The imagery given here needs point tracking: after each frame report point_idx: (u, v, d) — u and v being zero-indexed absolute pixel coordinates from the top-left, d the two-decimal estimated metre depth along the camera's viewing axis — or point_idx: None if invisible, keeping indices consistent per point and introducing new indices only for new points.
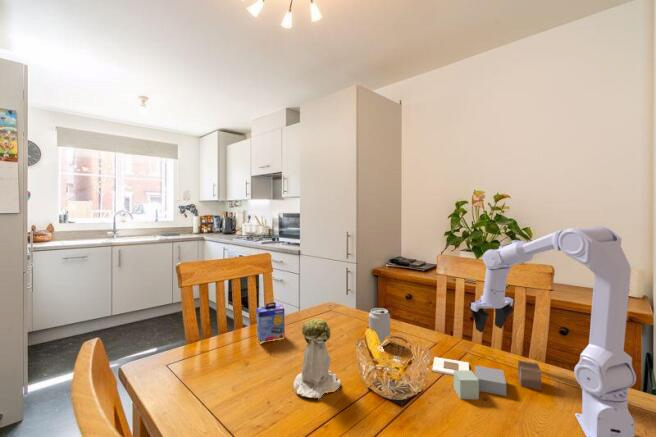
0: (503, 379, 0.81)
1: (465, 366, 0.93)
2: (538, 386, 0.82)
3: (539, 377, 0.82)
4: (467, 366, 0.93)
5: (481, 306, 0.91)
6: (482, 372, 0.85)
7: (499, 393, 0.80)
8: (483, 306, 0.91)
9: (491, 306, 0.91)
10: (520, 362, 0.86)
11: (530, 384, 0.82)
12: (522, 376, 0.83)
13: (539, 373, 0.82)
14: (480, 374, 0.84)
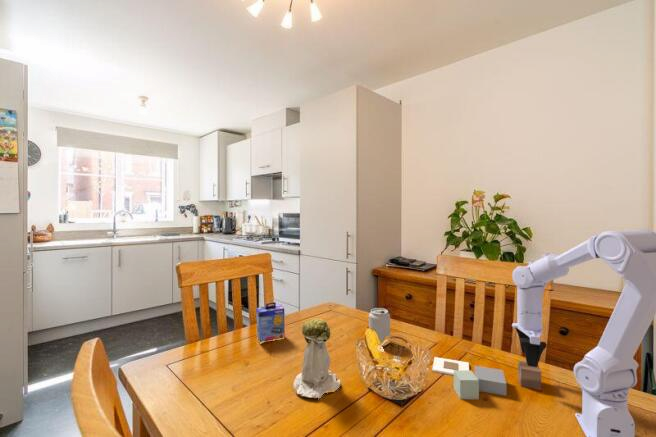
0: (503, 379, 0.81)
1: (465, 366, 0.93)
2: (538, 386, 0.82)
3: (539, 377, 0.82)
4: (467, 366, 0.93)
5: (539, 336, 0.78)
6: (482, 372, 0.85)
7: (500, 393, 0.80)
8: (540, 334, 0.79)
9: (541, 331, 0.81)
10: (520, 362, 0.86)
11: (530, 384, 0.83)
12: (522, 376, 0.83)
13: (539, 373, 0.82)
14: (481, 374, 0.84)
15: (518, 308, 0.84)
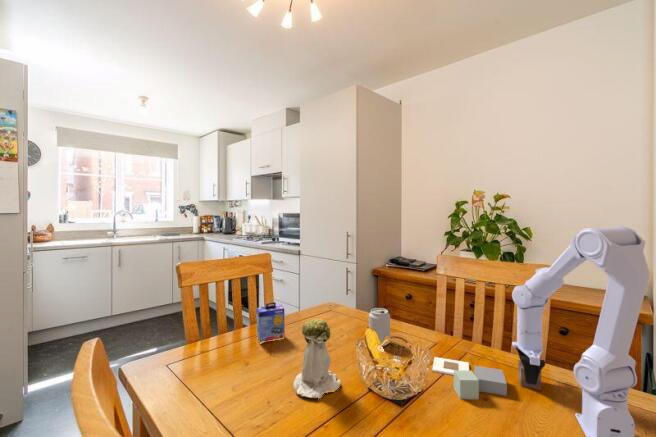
0: (503, 379, 0.81)
1: (465, 366, 0.93)
2: (538, 386, 0.82)
3: (539, 376, 0.82)
4: (467, 366, 0.93)
5: (539, 356, 0.79)
6: (482, 372, 0.85)
7: (500, 393, 0.80)
8: (540, 354, 0.79)
9: (541, 351, 0.81)
10: (520, 362, 0.86)
11: (530, 384, 0.83)
12: (522, 376, 0.83)
13: None
14: (481, 374, 0.84)
15: (518, 327, 0.84)
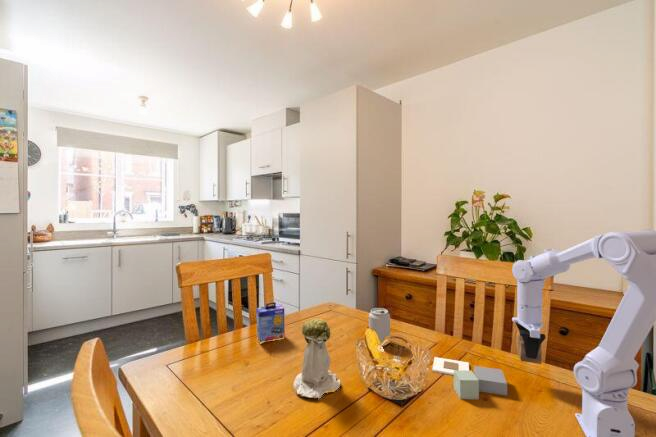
0: (503, 379, 0.81)
1: (465, 366, 0.93)
2: (538, 360, 0.81)
3: (539, 351, 0.81)
4: (467, 366, 0.93)
5: (539, 329, 0.78)
6: (482, 372, 0.85)
7: (500, 393, 0.80)
8: (540, 328, 0.79)
9: (541, 325, 0.80)
10: (520, 337, 0.86)
11: (530, 358, 0.82)
12: (522, 350, 0.83)
13: None
14: (481, 374, 0.84)
15: (518, 302, 0.84)
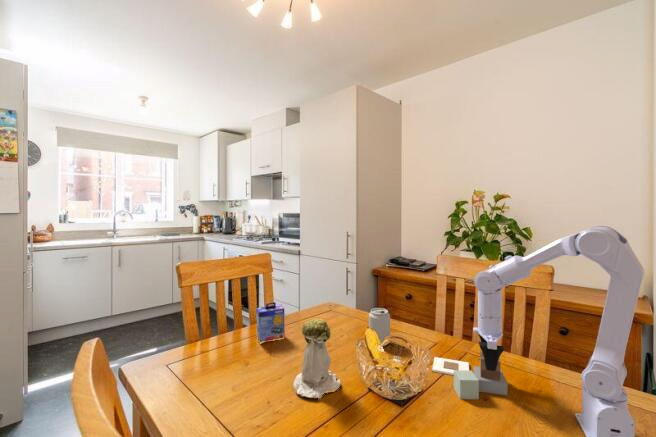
0: (503, 379, 0.81)
1: (465, 366, 0.93)
2: (497, 376, 0.81)
3: (498, 367, 0.81)
4: (467, 366, 0.93)
5: (497, 340, 0.78)
6: None
7: (501, 393, 0.80)
8: (497, 339, 0.78)
9: (500, 336, 0.80)
10: (481, 353, 0.85)
11: (489, 374, 0.82)
12: (482, 366, 0.82)
13: (498, 363, 0.81)
14: None
15: (481, 314, 0.82)
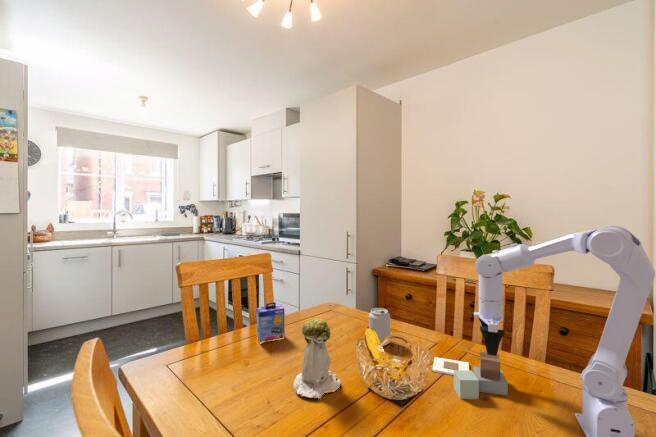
0: (504, 379, 0.81)
1: (465, 366, 0.93)
2: (497, 376, 0.81)
3: (498, 367, 0.81)
4: (467, 366, 0.93)
5: (498, 323, 0.78)
6: None
7: (501, 394, 0.80)
8: (498, 322, 0.78)
9: (500, 320, 0.80)
10: (481, 353, 0.85)
11: (489, 374, 0.82)
12: (482, 366, 0.82)
13: (498, 363, 0.81)
14: None
15: (482, 298, 0.82)
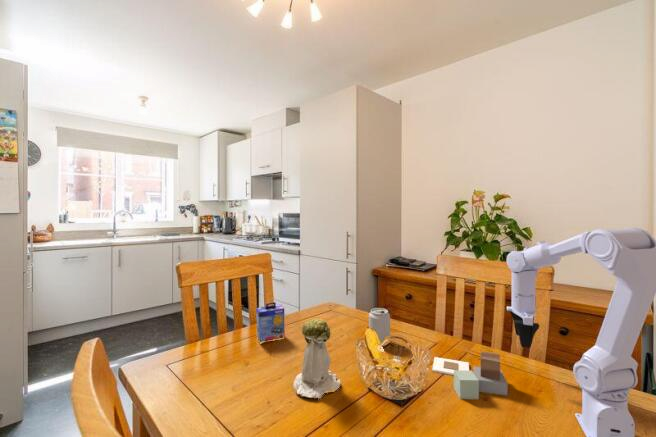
0: (503, 379, 0.81)
1: (465, 366, 0.93)
2: (497, 376, 0.81)
3: (498, 367, 0.81)
4: (467, 366, 0.93)
5: (532, 317, 0.81)
6: None
7: (501, 394, 0.80)
8: (533, 315, 0.82)
9: (534, 313, 0.84)
10: (482, 352, 0.86)
11: (489, 374, 0.82)
12: (481, 366, 0.83)
13: (498, 363, 0.81)
14: None
15: (512, 291, 0.87)
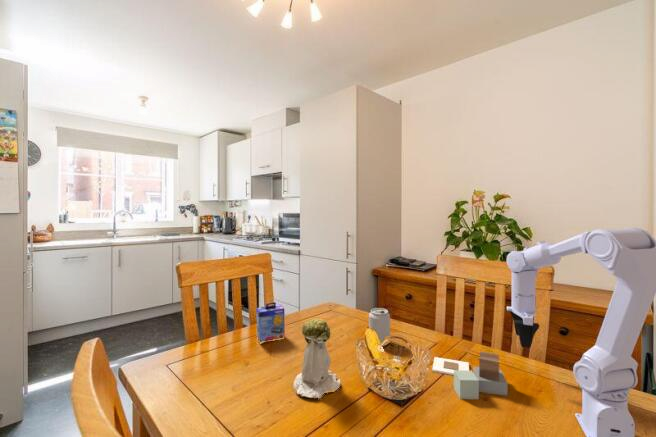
0: (503, 379, 0.81)
1: (465, 366, 0.93)
2: (496, 377, 0.81)
3: (496, 367, 0.81)
4: (467, 366, 0.93)
5: (532, 317, 0.81)
6: None
7: (501, 394, 0.80)
8: (533, 315, 0.82)
9: (534, 313, 0.84)
10: (481, 353, 0.85)
11: (488, 374, 0.82)
12: (480, 366, 0.83)
13: (497, 363, 0.81)
14: None
15: (512, 291, 0.87)
